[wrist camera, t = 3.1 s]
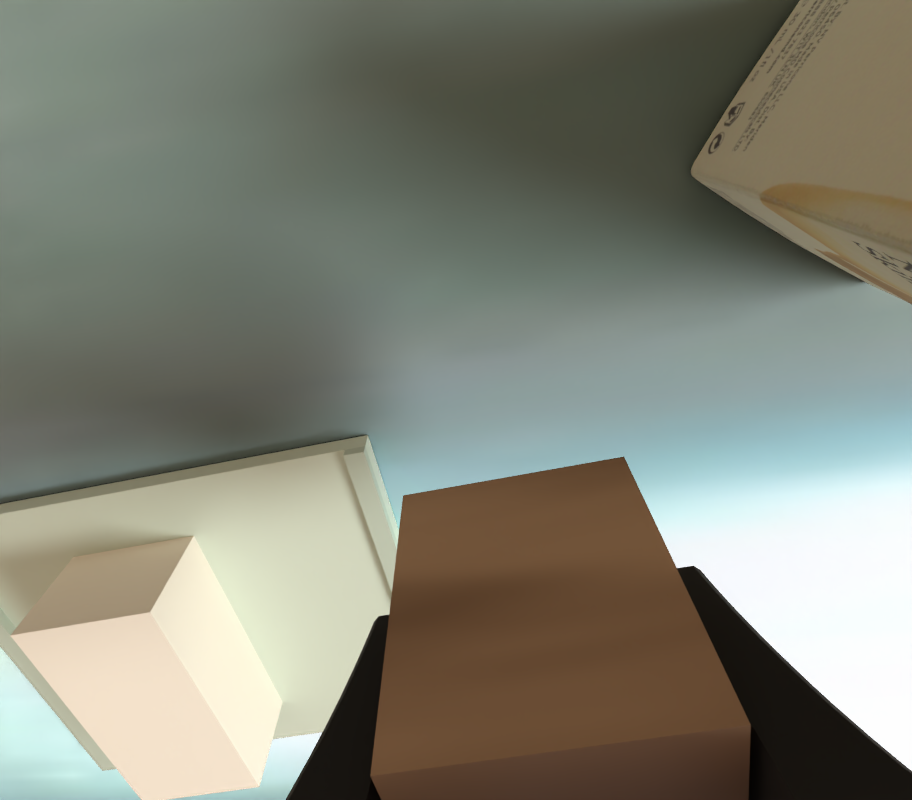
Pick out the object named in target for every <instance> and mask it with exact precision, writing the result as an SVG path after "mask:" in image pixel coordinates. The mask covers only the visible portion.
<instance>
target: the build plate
mask: <svg viewBox="0 0 912 800" xmlns="http://www.w3.org/2000/svg"><path fill="white" fill-rule="evenodd" d="M190 536H194V537H195V539H196V541H197V543H198V544H199V546H200V548H201V550H202V552H203V554H204V556H205V558H206V559H207V561H208V563H209V565H210V567H211V569H212V571H213V573H214V574H215V576H216V578H217V580H218V582H219V584H220V586H221V588H222V589H223V591H224V593H225V595H226V597H227V599H228V601H229V603H230V604H231V606H232V608H233V610H234V612H235V614H236V616H237V618H238V619H239V621H240V623H241V625H242V627H243V629H244V631H245V632H246V634H247V636H248V638H249V640H250V642H251V644H252V646H253V647H254V649H255V651H256V653H257V655H258V657H259V659H260V661H261V662H262V664H263V666H264V668H265V670H266V672H267V674H268V676H269V677H270V679H271V681H272V683H273V685H274V687H275V689H276V691H277V692H278V694H279V696H280V698H281V700H282V706H281V710H280V713H279V717H278V721H277V724H276V728H275V731H274V735H273V739H277V738H284V737H291V736H298V735H305V734H312V733H319V732H323V731H324V729H325V727H326V725H327V723H328V721H329V719H330V717H331V715H332V713H333V711H334V709H335V707H336V705H337V703H338V701H339V699H340V697H341V695H342V692H343V690H344V688H345V686H346V684H347V682H348V680H349V677H350V675H351V673H352V671H353V669H354V667H355V664H356V662H357V660H358V658H359V656H360V653H361V651H362V649H363V646H364V644H365V642H366V639H367V637H368V635H369V632H370V630H371V628H372V625H373V623H374V621H375V620H376V619H377V617H378V616H383V615H389V613H390V604H391V596H392V587H393V579H394V570H395V562H396V553H397V545H398V536H399V529H398V526H397V523H396V520H395V517H394V514H393V511H392V508H391V504H390V501H389V498H388V495H387V492H386V489H385V486H384V483H383V480H382V477H381V474H380V471H379V468H378V465H377V462H376V458H375V455H374V452H373V449H372V446H371V443H370V440H369V437H368V435H366V436H360V437H355V438H350V439H344V440H339V441H334V442H328V443H323V444H318V445H312V446H307V447H302V448H296V449H291V450H286V451H280V452H275V453H270V454H264V455H259V456H254V457H248V458H243V459H238V460H233V461H227V462H222V463H217V464H211V465H206V466H201V467H195V468H190V469H185V470H179V471H174V472H169V473H163V474H158V475H153V476H147V477H142V478H137V479H131V480H126V481H121V482H115V483H110V484H105V485H100V486H94V487H89V488H84V489H78V490H73V491H68V492H62V493H57V494H52V495H46V496H41V497H36V498H30V499H25V500H20V501H14V502H9V503H4V504H0V646H1V648H2V649H3V650H4V651H5V652H6V654H7V655H8V656H9V657H10V659H11V660H12V661H13V662H14V663H15V665H16V666H17V667H18V668H19V669H20V671H21V672H22V673H23V674H24V676H25V677H26V678H27V679H28V680H29V682H30V683H31V684H32V685H33V687H34V688H35V689H36V690H37V691H38V693H39V694H40V695H41V696H42V698H43V699H44V700H45V701H46V702H47V704H48V705H49V706H50V707H51V709H52V710H53V711H54V712H55V713H56V715H57V716H58V717H59V718H60V720H61V721H62V722H63V723H64V724H65V726H66V727H67V728H68V729H69V731H70V732H71V733H72V734H73V735H74V737H75V738H76V739H77V740H78V742H79V743H80V744H81V745H82V746H83V748H84V749H85V750H86V751H87V753H88V754H89V755H90V756H91V757H92V759H93V760H94V761H95V762H96V764H97V765H98V766H99V767H100V768H101V770H102V771H104V770H111V769H116V767H115V766H114V765H113V764H112V762H111V761H110V760H109V759H108V757H107V756H106V755H105V754H104V752H103V751H102V750H101V749H100V747H99V746H98V745H97V744H96V742H95V741H94V740H93V739H92V737H91V736H90V735H89V734H88V732H87V731H86V730H85V729H84V727H83V726H82V725H81V724H80V722H79V721H78V720H77V719H76V717H75V716H74V715H73V714H72V712H71V711H70V710H69V709H68V707H67V706H66V705H65V704H64V702H63V701H62V700H61V698H60V697H59V696H58V695H57V693H56V692H55V691H54V690H53V688H52V687H51V686H50V685H49V683H48V682H47V681H46V680H45V678H44V677H43V676H42V675H41V673H40V672H39V671H38V670H37V668H36V667H35V666H34V665H33V663H32V662H31V661H30V660H29V658H28V657H27V656H26V655H25V653H24V652H23V651H22V650H21V648H20V647H19V646H18V645H17V643H16V642H15V641H14V640H13V638H12V637H11V636H10V635H11V634H12V633H13V631H14V630H15V629H16V628H17V626H18V625H19V624H20V623H21V621H22V620H23V619H24V618H25V617H26V615H27V614H28V613H29V612H30V610H31V609H32V608H33V607H34V605H35V604H36V603H37V602H38V600H39V599H40V598H41V597H42V595H43V594H44V593H45V592H46V590H47V589H48V588H49V587H50V585H51V584H52V583H53V582H54V580H55V579H56V578H57V577H58V575H59V574H60V573H61V572H62V570H63V569H64V568H65V567H66V565H67V564H68V563H69V562H70V560H71V559H72V558H73V557H77V556H82V555H88V554H94V553H99V552H105V551H111V550H116V549H122V548H127V547H133V546H139V545H144V544H150V543H156V542H161V541H167V540H173V539H178V538H184V537H190Z"/></svg>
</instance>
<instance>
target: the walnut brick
mask: <svg viewBox="0 0 912 800" xmlns="http://www.w3.org/2000/svg"><path fill="white" fill-rule="evenodd" d="M750 733H751V724H750V722H749V720H748V718H747V716H746V714H745V712H744V710H743V708H742V705H741V703H740V701H739V699H738V697H737V695H736V693H735V691H734V689H733V686H732V684H731V682H730V680H729V678H728V676H727V674H726V672H725V670H724V667H723V665H722V663H721V661H720V659H719V657H718V655H717V653H716V650H715V648H714V646H713V644H712V642H711V640H710V638H709V636H708V634H707V631H706V629H705V627H704V625H703V623H702V621H701V619H700V617H699V615H698V612H697V610H696V608H695V606H694V604H693V602H692V600H691V598H690V596H689V593H688V591H687V589H686V587H685V585H684V583H683V581H682V579H681V576H680V574H679V572H678V570H677V568H676V566H675V564H674V562H673V560H672V557H671V555H670V553H669V551H668V549H667V547H666V545H665V543H664V541H663V538H662V536H661V534H660V532H659V530H658V528H657V526H656V524H655V522H654V519H653V517H652V515H651V513H650V511H649V509H648V507H647V505H646V503H645V500H644V498H643V496H642V494H641V492H640V490H639V488H638V486H637V483H636V481H635V479H634V477H633V475H632V473H631V471H630V469H629V467H628V464H627V462H626V460H625V458H624V457H620V458H614V459H608V460H603V461H597V462H591V463H586V464H580V465H574V466H569V467H563V468H557V469H552V470H546V471H540V472H535V473H529V474H523V475H518V476H512V477H506V478H501V479H495V480H489V481H484V482H478V483H472V484H467V485H461V486H455V487H450V488H444V489H438V490H432V491H427V492H421V493H415V494H410V495H404V496H403V502H402V511H401V519H400V528H399V536H398V545H397V553H396V562H395V570H394V579H393V587H392V596H391V604H390V613H389V621H388V630H387V638H386V647H385V655H384V664H383V672H382V681H381V689H380V698H379V706H378V715H377V723H376V732H375V740H374V749H373V757H372V766H371V774H370V777H371V779H372V781H373V783H374V785H375V787H376V790H377V792H378V794H379V796H380V798H381V800H748V799H749V766H750Z"/></svg>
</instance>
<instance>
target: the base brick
mask: <svg viewBox="0 0 912 800" xmlns="http://www.w3.org/2000/svg"><path fill="white" fill-rule="evenodd" d="M10 636H11V637H12V638H13V640H14V641H15V642H16V643H17V645H18V646H19V647H20V648H21V650H22V651H23V652H24V653H25V655H26V656H27V657H28V658H29V660H30V661H31V662H32V663H33V665H34V666H35V667H36V668H37V670H38V671H39V672H40V673H41V675H42V676H43V677H44V678H45V680H46V681H47V682H48V683H49V685H50V686H51V687H52V688H53V690H54V691H55V692H56V693H57V695H58V696H59V697H60V698H61V700H62V701H63V702H64V704H65V705H66V706H67V707H68V709H69V710H70V711H71V712H72V714H73V715H74V716H75V717H76V719H77V720H78V721H79V722H80V724H81V725H82V726H83V727H84V729H85V730H86V731H87V732H88V734H89V735H90V736H91V737H92V739H93V740H94V741H95V742H96V744H97V745H98V746H99V747H100V749H101V750H102V751H103V752H104V754H105V755H106V756H107V757H108V759H109V760H110V761H111V762H112V764H113V765H114V766H115V767H116V769H117V770H118V771H119V772H120V774H121V775H122V776H123V777H124V779H125V780H126V781H127V782H128V784H129V785H130V786H131V787H132V789H133V790H134V791H135V792H136V794H137V795H138V796H139V797H140V799H141V800H167V799H174V798H182V797H189V796H196V795H204V794H211V793H218V792H226V791H233V790H240V789H248V788H255V787H259V786H260V783H261V779H262V775H263V772H264V768H265V764H266V761H267V757H268V753H269V750H270V746H271V742H272V739H273V735H274V731H275V728H276V724H277V721H278V717H279V713H280V710H281V706H282V700H281V698H280V696H279V694H278V692H277V691H276V689H275V687H274V685H273V683H272V681H271V679H270V677H269V676H268V674H267V672H266V670H265V668H264V666H263V664H262V662H261V661H260V659H259V657H258V655H257V653H256V651H255V649H254V647H253V646H252V644H251V642H250V640H249V638H248V636H247V634H246V632H245V631H244V629H243V627H242V625H241V623H240V621H239V619H238V618H237V616H236V614H235V612H234V610H233V608H232V606H231V604H230V603H229V601H228V599H227V597H226V595H225V593H224V591H223V589H222V588H221V586H220V584H219V582H218V580H217V578H216V576H215V574H214V573H213V571H212V569H211V567H210V565H209V563H208V561H207V559H206V558H205V556H204V554H203V552H202V550H201V548H200V546H199V544H198V543H197V541H196V539H195V537H194V536H190V537H184V538H178V539H173V540H167V541H161V542H156V543H150V544H144V545H139V546H133V547H127V548H122V549H116V550H111V551H105V552H99V553H94V554H88V555H82V556H77V557H73V558H72V559H71V560H70V562H69V563H68V564H67V565H66V567H65V568H64V569H63V570H62V572H61V573H60V574H59V575H58V577H57V578H56V579H55V580H54V582H53V583H52V584H51V585H50V587H49V588H48V589H47V590H46V592H45V593H44V594H43V595H42V597H41V598H40V599H39V600H38V602H37V603H36V604H35V605H34V607H33V608H32V609H31V610H30V612H29V613H28V614H27V615H26V617H25V618H24V619H23V620H22V621H21V623H20V624H19V625H18V626H17V628H16V629H15V630H14V631H13V633H12V634H11V635H10Z"/></svg>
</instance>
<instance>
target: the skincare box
mask: <svg viewBox="0 0 912 800" xmlns="http://www.w3.org/2000/svg"><path fill="white" fill-rule="evenodd" d="M691 174H692V176H693V177H694V178H695V179H696V180H698V181H699V182H701V183H702V184H704V185H705V186H706V187H708V188H709V189H711V190H712V191H714V192H715V193H717V194H718V195H720V196H721V197H723V198H724V199H726V200H727V201H729V202H730V203H731V204H733V205H735V206H736V207H738V208H739V209H741V210H742V211H744V212H745V213H747V214H748V215H750V216H752V217H753V218H755V219H756V220H758V221H759V222H761V223H763V224H764V225H766V226H767V227H769V228H771V229H772V230H774V231H776V232H777V233H779V234H781V235H782V236H784V237H785V238H787V239H788V240H790V241H792V242H794V243H795V244H797V245H799V246H801V247H802V248H804V249H806V250H808V251H810V252H812V253H813V254H815V255H817V256H819V257H821V258H822V259H824V260H826V261H828V262H830V263H832V264H833V265H835V266H837V267H839V268H841V269H843V270H844V271H846V272H848V273H850V274H852V275H854V276H855V277H857V278H859V279H861V280H863V281H865V282H866V283H868V284H870V285H872V286H874V287H877V288H879V289H881V290H883V291H885V292H887V293H889V294H892V295H894V296H896V297H898V298H900V299H902V300H904V301H906V302H908V303H910V304H912V0H800V1H799V2H798V4H797V5H796V7H795V8H794V10H793V11H792V13H791V14H790V16H789V17H788V19H787V20H786V22H785V23H784V24H783V26H782V27H781V29H780V30H779V32H778V33H777V34H776V36H775V37H774V39H773V40H772V42H771V43H770V45H769V46H768V48H767V49H766V51H765V52H764V54H763V55H762V56H761V58H760V59H759V61H758V62H757V64H756V65H755V67H754V68H753V70H752V71H751V73H750V74H749V76H748V78H747V79H746V81H745V82H744V83H743V85H742V86H741V88H740V89H739V91H738V93H737V94H736V96H735V97H734V99H733V100H732V102H731V103H730V105H729V106H728V108H727V109H726V111H725V113H724V114H723V116H722V117H721V119H720V121H719V122H718V124H717V125H716V127H715V129H714V130H713V132H712V134H711V135H710V137H709V139H708V140H707V142H706V144H705V145H704V147H703V149H702V150H701V152H700V153H699V155H698V157H697V158H696V160H695V162H694V163H693V166H692V168H691Z"/></svg>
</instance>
